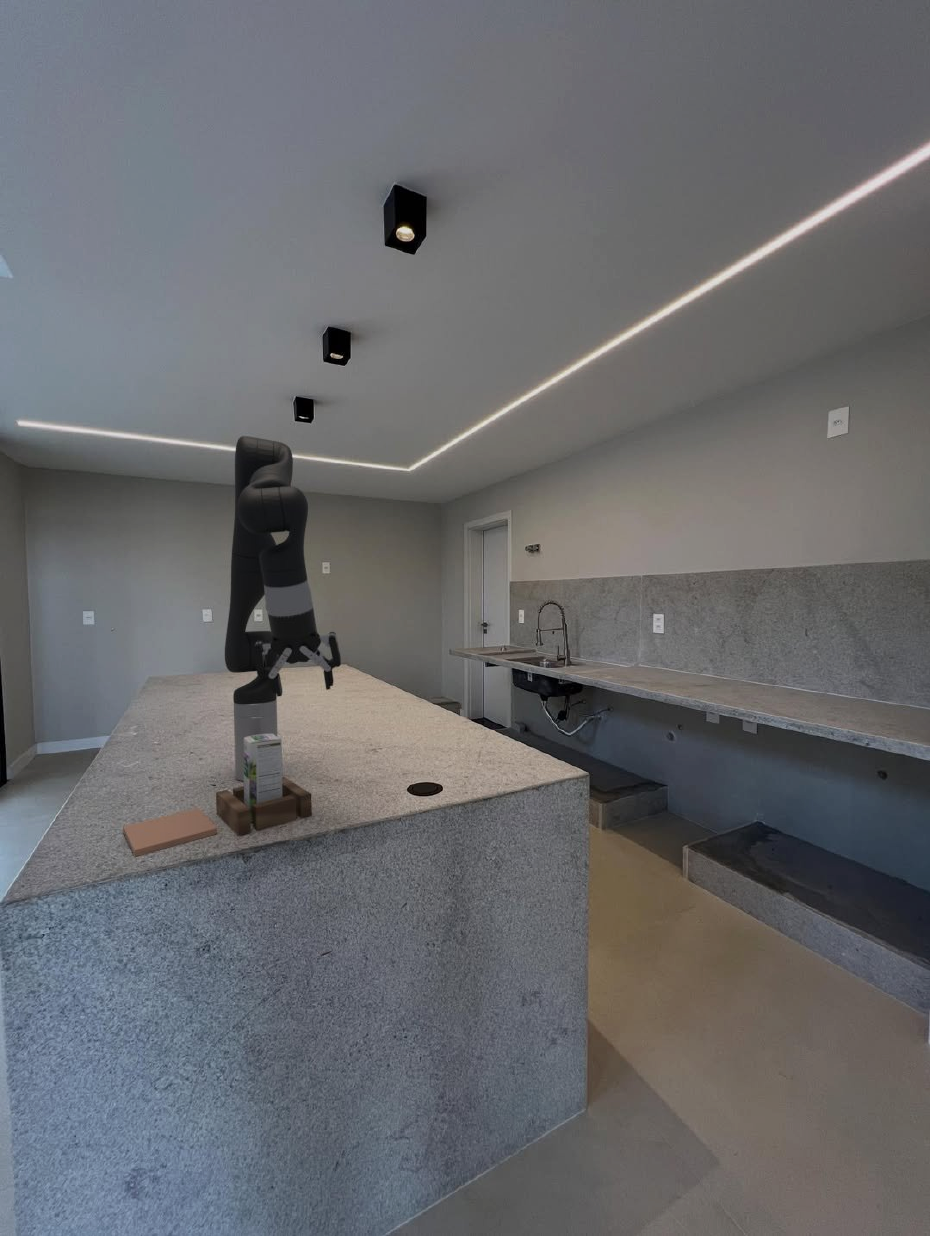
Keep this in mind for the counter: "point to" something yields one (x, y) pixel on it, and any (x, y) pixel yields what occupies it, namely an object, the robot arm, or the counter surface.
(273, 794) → the syrup box
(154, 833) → the terracotta tile
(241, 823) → the walnut pocket collar
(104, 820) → the counter surface
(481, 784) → the counter surface
